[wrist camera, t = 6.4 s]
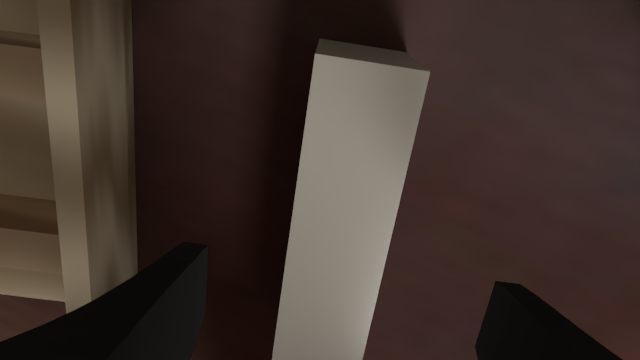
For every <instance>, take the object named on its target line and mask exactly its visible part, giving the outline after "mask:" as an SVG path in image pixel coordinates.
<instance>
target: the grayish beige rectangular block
mask: <svg viewBox="0 0 640 360" xmlns="http://www.w3.org/2000/svg"><path fill="white" fill-rule="evenodd" d="M429 75H430V71H429V70H428V69H426V68H425V67H424V66H423V65H422V64H420V63H419V62H418V61H417V60H416V59H414V58H413V57H412V56H411V55H410V54H408V53H407V52H402V51H396V50H389V49H383V48H377V47H370V46H364V45H358V44H351V43H345V42H339V41H332V40H326V39H319V42H318V45H317V49H316V52H315V57H314V64H313V71H312V78H311V85H310V92H309V99H308V106H307V113H306V120H305V128H304V135H303V142H302V149H301V156H300V163H299V170H298V177H297V184H296V191H295V198H294V205H293V213H292V220H291V227H290V234H289V241H288V248H287V255H286V262H285V269H284V276H283V283H282V290H281V298H280V305H279V312H278V319H277V326H276V333H275V340H274V347H273V354H272V360H362V359H363V355H364V351H365V346H366V342H367V338H368V334H369V329H370V325H371V321H372V317H373V312H374V308H375V304H376V300H377V295H378V291H379V287H380V283H381V278H382V274H383V270H384V266H385V261H386V257H387V253H388V249H389V245H390V240H391V236H392V232H393V228H394V223H395V219H396V215H397V211H398V206H399V202H400V198H401V194H402V189H403V185H404V181H405V177H406V172H407V168H408V164H409V160H410V155H411V151H412V147H413V143H414V138H415V134H416V130H417V126H418V121H419V117H420V113H421V109H422V105H423V100H424V96H425V92H426V88H427V83H428V79H429Z"/></svg>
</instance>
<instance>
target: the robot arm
mask: <svg viewBox="0 0 640 360" xmlns="http://www.w3.org/2000/svg"><path fill="white" fill-rule="evenodd" d="M207 266H208V245H203V244H195V243H187V242H183V243H182V244H180V245H179V246H177V247H176V248H174V249H173V250H171V251H170V252H168V253H167V254H166V255H164V256H163V257H161V258H160V259H158V260H157V261H155V262H154V263H152V264H151V265H149V266H148V267H146V268H145V269H143V270H142V271H140V272H139V273H137V274H136V275H134V276H133V277H131V278H130V279H128V280H127V281H125V282H123V283H122V284H120V285H118V286H116V287H115V288H113V289H111V290H110V291H108V292H106V293H105V294H103V295H101V296H100V297H98V298H96V299H95V300H93V301H91V302H89V303H87V304H85V305H83V306H81V307H79V308H78V309H76V310H74V311H72V312H69V313H67V314H65V315H63V316H61V317H59V318H57V319H55V320H53V321H51V322H48V323H46V324H44V325H42V326H39V327H37V328H34V329H32V330H29V331H27V332H24V333H22V334H19V335H17V336H14V337H12V338H9V339H7V340H4V341H2V342H0V360H190V358H191V355H192V353H193V351H194V348H195V345H196V342H197V339H198V336H199V333H200V330H201V326H202V323H203V320H204V316H205V312H206V289H207ZM475 348H476V353H477V357H478V360H622V359H621V358H619V357H618V356H617V355H615V354H614V353H612V352H611V351H609V350H608V349H607V348H605V347H604V346H603V345H601V344H600V343H598V342H597V341H596V340H594V339H593V338H592V337H590V336H589V335H588V334H586V333H585V332H584V331H582V330H581V329H580V328H578V327H577V326H576V325H575V324H573V323H572V322H571V321H569V320H568V319H567V318H565V317H564V316H563V315H562V314H560V313H559V312H558V311H556V310H555V309H554V308H552V307H551V306H550V305H549V304H547V303H546V302H545V301H543V300H542V299H541V298H539V297H538V296H537V295H535V294H534V293H532V292H531V291H530V290H528V289H527V288H525V287H523V286H522V285H520V284H514V283H506V282H498V281H496V282H495V285H494V288H493V291H492V294H491V297H490V301H489V304H488V307H487V310H486V313H485V316H484V319H483V323H482V326H481V329H480V332H479V335H478V338H477V342H476V345H475Z"/></svg>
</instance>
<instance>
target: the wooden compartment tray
mask: <svg viewBox="0 0 640 360" xmlns="http://www.w3.org/2000/svg"><path fill="white" fill-rule="evenodd" d="M137 273H138V254H137V212H136V170H135V128H134V86H133V43H132V1H131V0H0V294H5V295H13V296H21V297H29V298H37V299H46V300H54V301H62V302H65V304H66V314H67V313H69V312H72V311H74V310H76V309H78V308H79V307H81V306H83V305H85V304H87V303H89V302H91V301H93V300H95V299H96V298H98V297H100V296H101V295H103V294H105V293H106V292H108V291H110V290H111V289H113V288H115V287H116V286H118V285H120V284H122V283H123V282H125V281H127V280H128V279H130V278H131V277H133V276H134V275H136V274H137Z"/></svg>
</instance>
